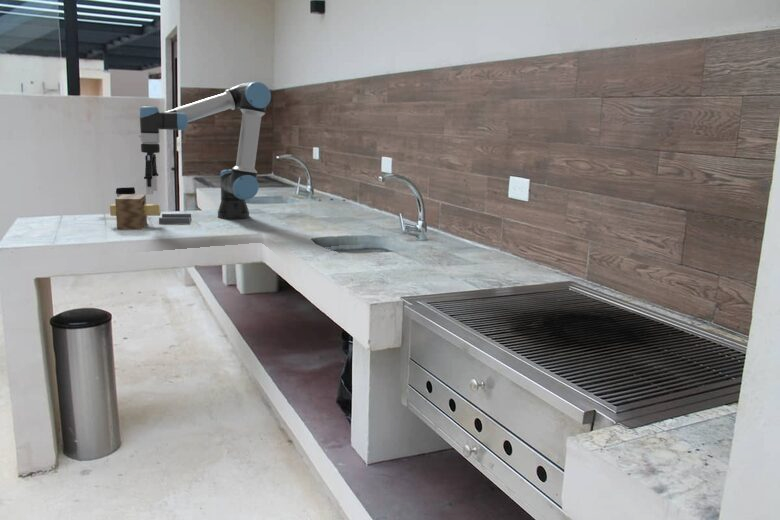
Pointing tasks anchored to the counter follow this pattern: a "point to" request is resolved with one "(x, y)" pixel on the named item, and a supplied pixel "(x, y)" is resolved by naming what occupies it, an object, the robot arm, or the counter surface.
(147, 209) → the brass bar
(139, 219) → the wooden block
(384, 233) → the counter surface
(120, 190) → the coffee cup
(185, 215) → the saddle tray
